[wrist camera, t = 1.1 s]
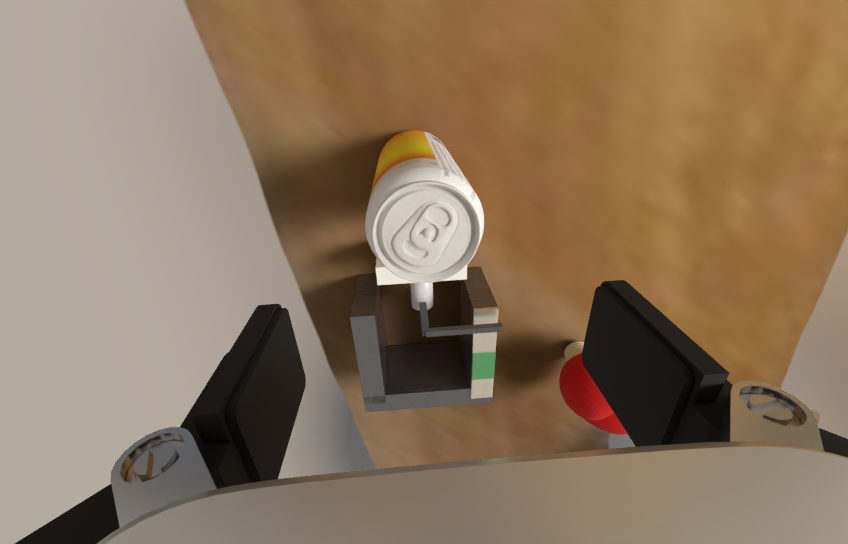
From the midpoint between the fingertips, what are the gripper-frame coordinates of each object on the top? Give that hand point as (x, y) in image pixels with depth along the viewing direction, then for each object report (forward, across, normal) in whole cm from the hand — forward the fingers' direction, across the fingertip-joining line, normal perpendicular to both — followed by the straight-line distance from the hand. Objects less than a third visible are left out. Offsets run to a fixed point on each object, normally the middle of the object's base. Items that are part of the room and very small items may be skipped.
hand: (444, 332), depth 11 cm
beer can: (+23, 0, 0) cm, 23 cm away
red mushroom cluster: (+23, -17, +21) cm, 35 cm away
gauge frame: (+22, 0, +15) cm, 27 cm away
